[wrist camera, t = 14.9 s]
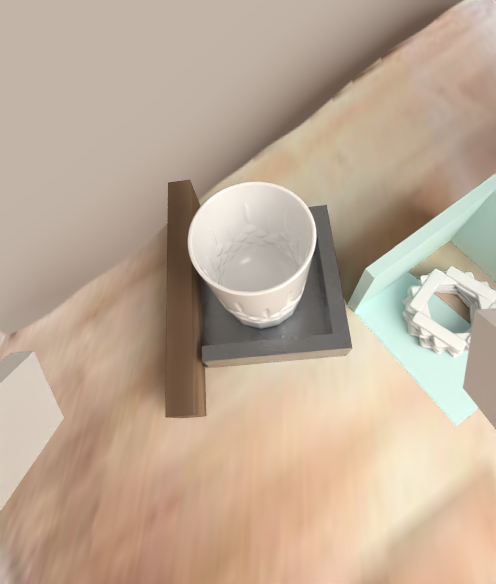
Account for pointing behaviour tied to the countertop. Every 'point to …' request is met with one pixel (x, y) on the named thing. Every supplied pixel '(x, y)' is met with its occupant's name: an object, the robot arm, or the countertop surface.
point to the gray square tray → (294, 330)
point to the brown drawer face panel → (183, 310)
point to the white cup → (254, 250)
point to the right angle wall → (434, 298)
